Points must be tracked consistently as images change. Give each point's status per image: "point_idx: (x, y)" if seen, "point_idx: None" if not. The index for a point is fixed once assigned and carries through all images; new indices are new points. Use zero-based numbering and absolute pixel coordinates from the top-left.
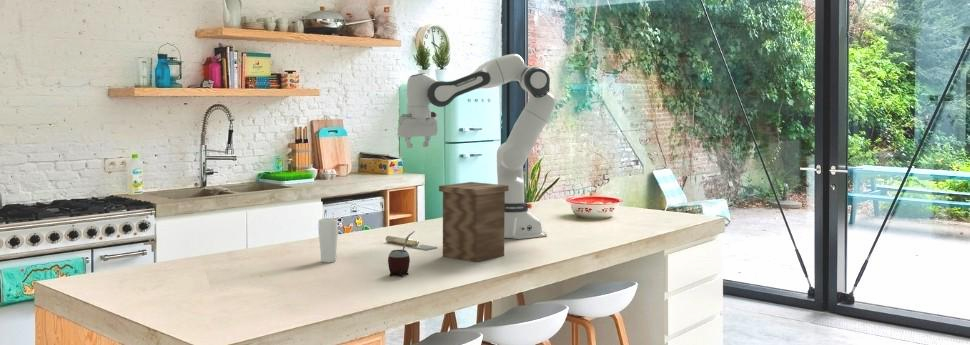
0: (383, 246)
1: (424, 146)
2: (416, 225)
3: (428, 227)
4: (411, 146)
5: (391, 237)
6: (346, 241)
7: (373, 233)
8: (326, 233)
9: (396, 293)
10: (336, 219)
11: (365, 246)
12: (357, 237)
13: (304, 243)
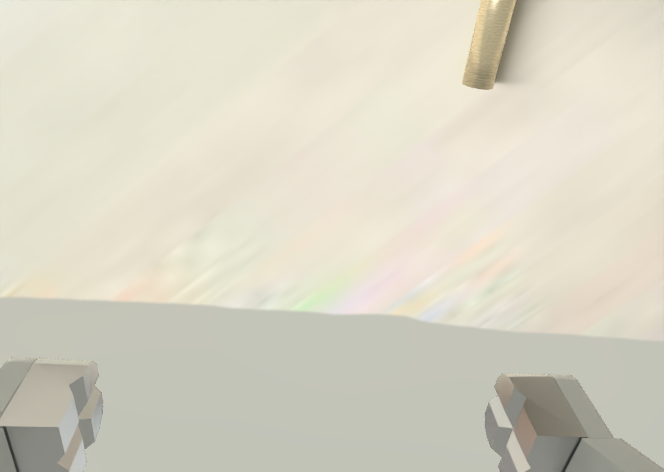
0: (582, 21)
1: (92, 396)
2: (46, 259)
3: (38, 187)
4: (542, 391)
5: (499, 54)
6: (535, 223)
7: (327, 262)
8: None
9: None
10: None
11: (610, 89)
12: (438, 249)
13: (628, 300)
